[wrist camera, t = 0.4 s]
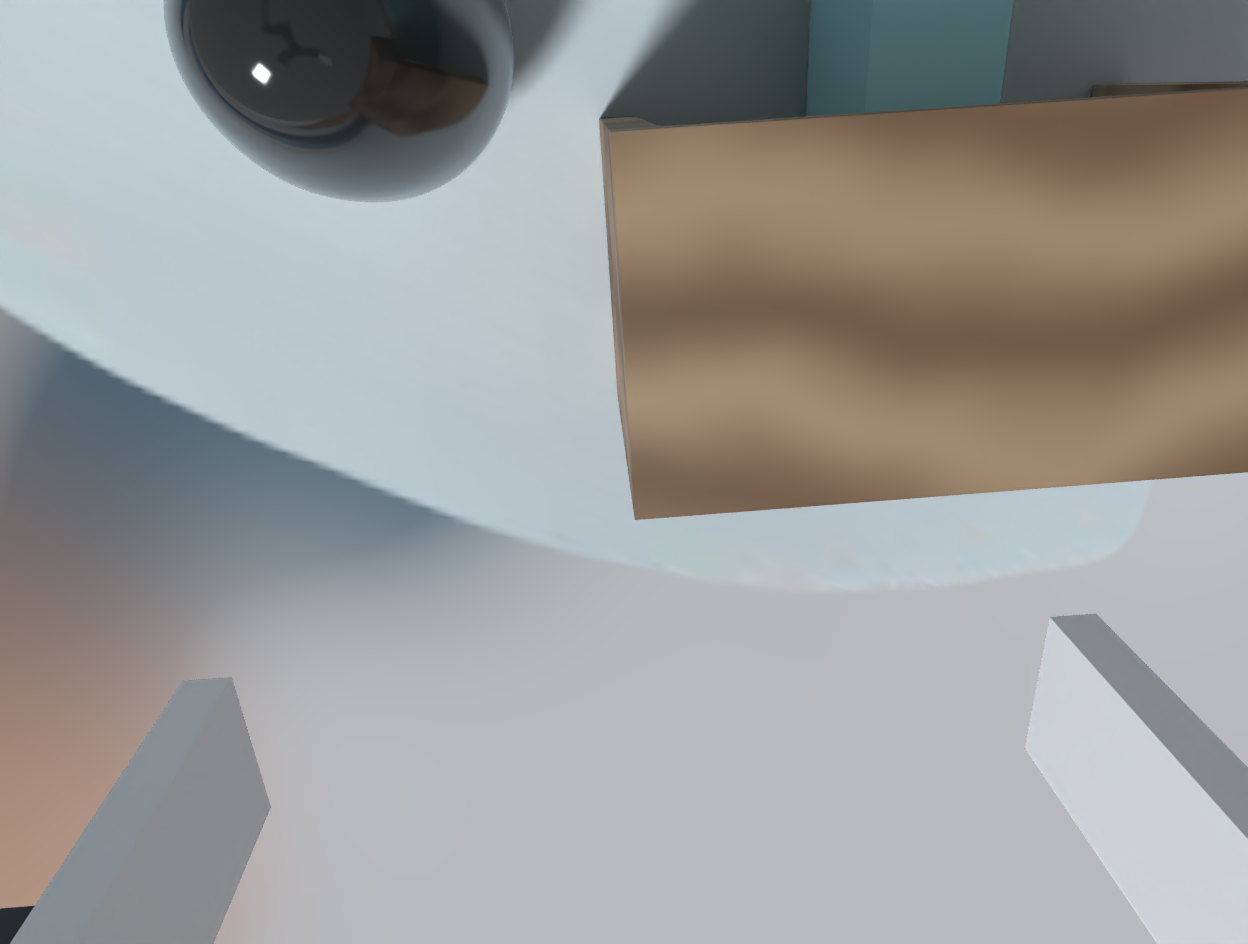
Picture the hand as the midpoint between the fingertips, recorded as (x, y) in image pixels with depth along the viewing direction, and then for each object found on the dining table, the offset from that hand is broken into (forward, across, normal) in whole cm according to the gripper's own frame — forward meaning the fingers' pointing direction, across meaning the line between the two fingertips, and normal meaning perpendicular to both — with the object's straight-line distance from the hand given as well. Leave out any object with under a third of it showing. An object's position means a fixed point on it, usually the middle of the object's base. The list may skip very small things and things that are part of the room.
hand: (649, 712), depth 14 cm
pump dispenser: (+27, -8, +11) cm, 30 cm away
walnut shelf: (+26, +11, +2) cm, 29 cm away
